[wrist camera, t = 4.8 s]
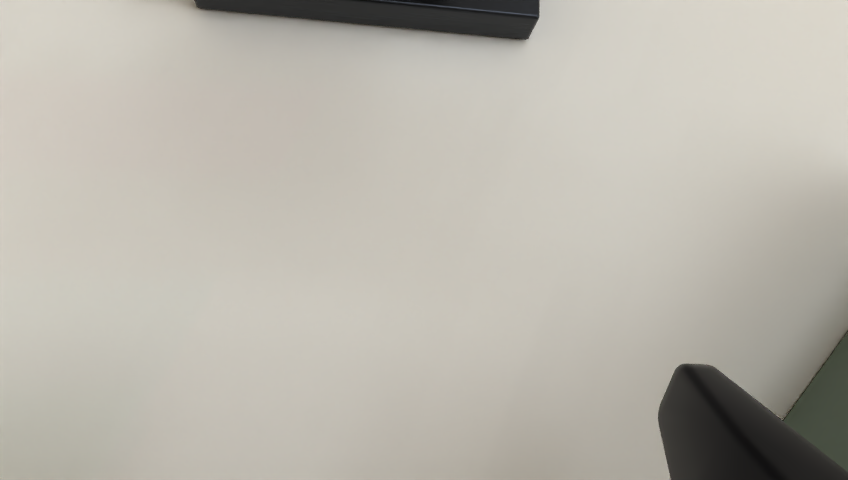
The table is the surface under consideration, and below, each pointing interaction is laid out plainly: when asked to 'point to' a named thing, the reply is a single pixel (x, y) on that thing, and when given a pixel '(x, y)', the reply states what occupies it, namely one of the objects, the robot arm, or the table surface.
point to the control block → (826, 408)
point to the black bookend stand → (403, 13)
